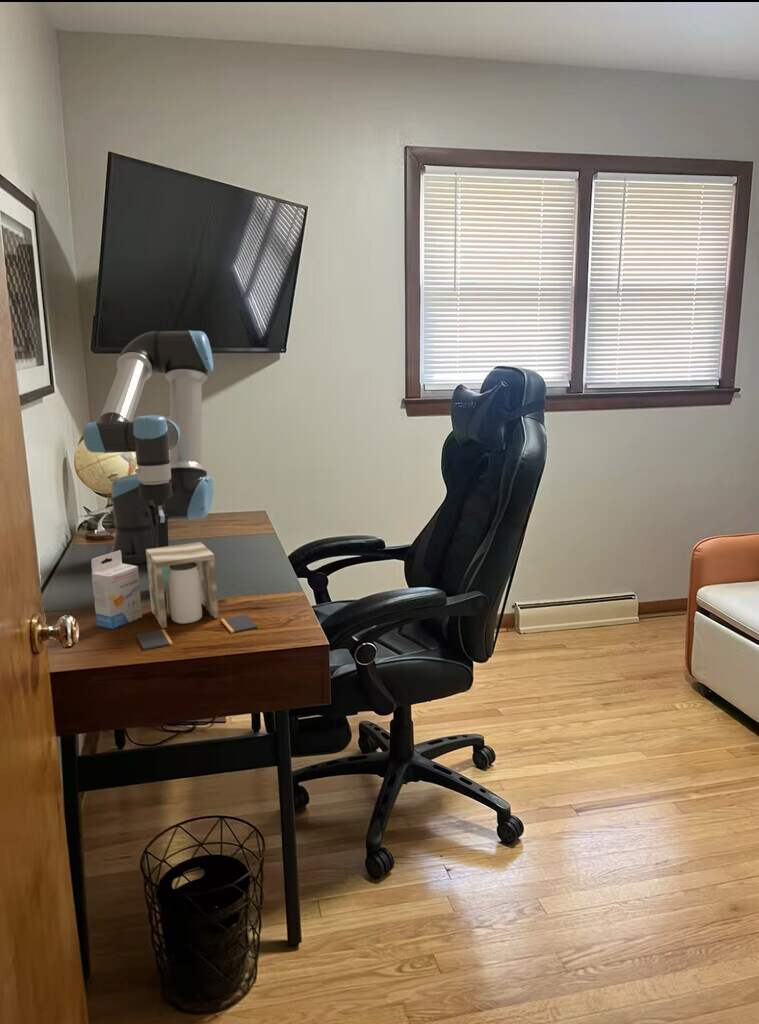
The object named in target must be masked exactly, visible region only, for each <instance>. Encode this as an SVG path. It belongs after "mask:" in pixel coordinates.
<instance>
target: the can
mask: <svg viewBox="0 0 759 1024" xmlns="http://www.w3.org/2000/svg"><path fill="white" fill-rule="evenodd" d="M169 568H170V570H169V572H168V583H169V596H170V607H171V614H170V616H171V620H172V621H173V622H174V623H176V624H177V625H178V624H179V625H188V623H189V624H193V623H196V622H198V621H200V620H201V619H202V617H203V607H202V606H203V604H202V603H201V589H200V576H199V570H198V563H197V562H191V563H185V564H178V565H171V566H169Z"/></svg>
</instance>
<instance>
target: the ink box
mask: <svg viewBox="0 0 759 1024" xmlns="http://www.w3.org/2000/svg"><path fill="white" fill-rule="evenodd" d="M106 559H107V560H110V559H111V561H107V562H104V561H105V560H106ZM102 562H104V563H102ZM90 563H91V567H90V568H91V580H92V581H91V583H92V590H93V591H92V592H93V599H94V608H95V609H94V612H95V617H96V618H95V619H96V626H97V627H99V628H100V627H101V628H107V629H111V630H114V629H117V628H119V627H122V626H124V625H126V624H129V623H131V622H134V621H136V620H138V618H139V619H141V618H143V611H142V608H143V607H142V601H141V600H142V599H141V588H140V577H139V566H138V565H134V564H122V556H121V551H120V550H119V551H116V552H112V553H111V552H110V553H106V554H103V555H99V556H97V557H94V558H91V561H90ZM140 617H141V618H140ZM133 620H134V621H133Z"/></svg>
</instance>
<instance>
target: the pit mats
mask: <svg viewBox="0 0 759 1024" xmlns="http://www.w3.org/2000/svg"><path fill="white" fill-rule="evenodd" d="M220 622H221V623H222V624H223V625H224V627H226V629H227V630H228V632H229V633H230V634H233V633H239V632H240V633H241V632H245V631H250V630H254V629H256V630H257V629H258V628H259V627H258V625H257V624H256V623H255V622H254V621H253V620H252V618H250V616H248V614H242V615H241V614H240V615H235V616H231V617H226V618H220ZM135 637H136V638H137V640H138V642H139V644H140V646H141V648H142V650H143V651H146V650H153V649H157V648H162V647H168V646H173V645H174V642H173V641H172V639H171V637H170V636H169V634H168V633H167V631H166V630H165V628H162V629H160V630H159V629H158V630H154V631H148V632H143V633H137V634H136V636H135Z"/></svg>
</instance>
